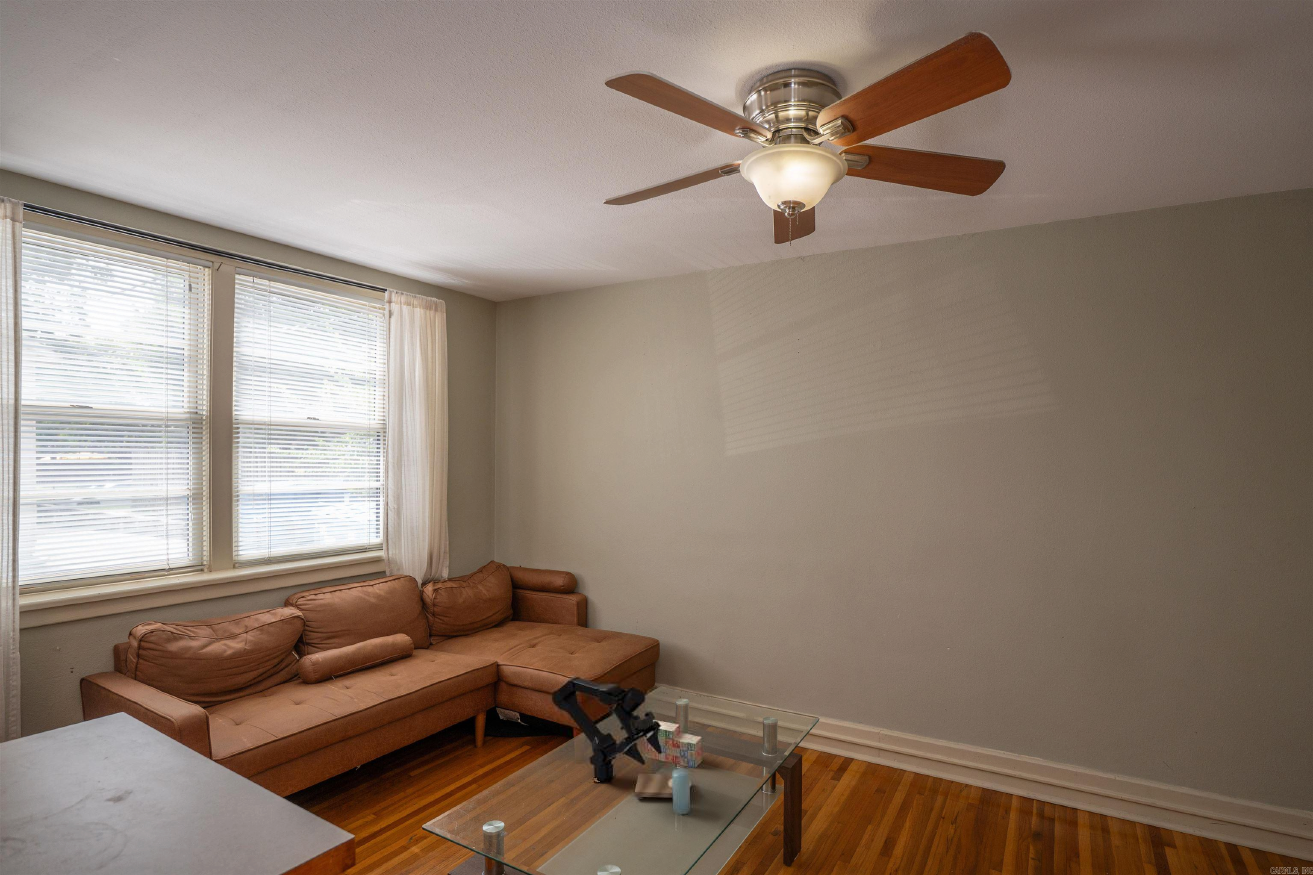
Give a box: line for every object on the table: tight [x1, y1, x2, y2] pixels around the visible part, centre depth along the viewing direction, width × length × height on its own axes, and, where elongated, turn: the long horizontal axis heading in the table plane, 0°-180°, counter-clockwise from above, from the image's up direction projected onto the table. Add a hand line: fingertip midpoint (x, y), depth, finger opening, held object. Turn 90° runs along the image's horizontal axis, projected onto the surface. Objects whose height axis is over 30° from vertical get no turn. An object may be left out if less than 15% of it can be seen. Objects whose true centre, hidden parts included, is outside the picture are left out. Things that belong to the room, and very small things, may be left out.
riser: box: [634, 773, 692, 801], centre depth 241 cm, size 19×12×3 cm, turn 85°
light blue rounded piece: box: [671, 768, 691, 816], centre depth 229 cm, size 6×6×12 cm
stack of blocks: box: [644, 719, 702, 769], centre depth 265 cm, size 21×6×12 cm, turn 62°
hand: (652, 758), depth 237 cm, fingers open, 9 cm apart
